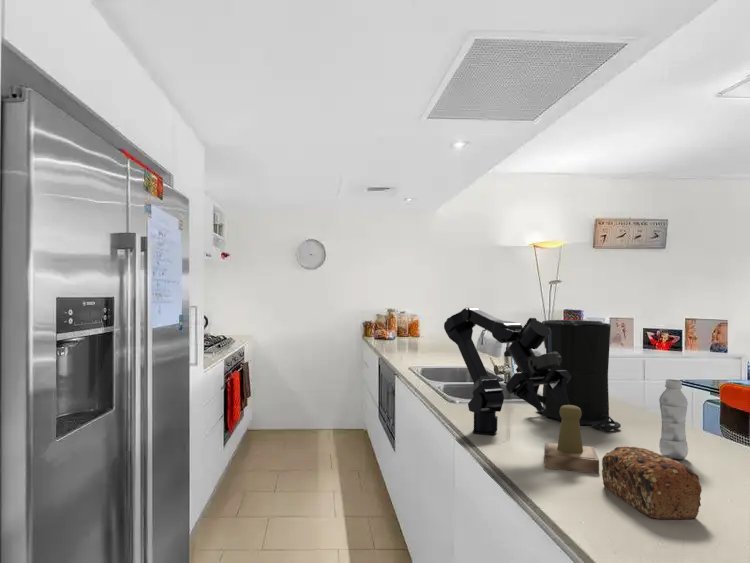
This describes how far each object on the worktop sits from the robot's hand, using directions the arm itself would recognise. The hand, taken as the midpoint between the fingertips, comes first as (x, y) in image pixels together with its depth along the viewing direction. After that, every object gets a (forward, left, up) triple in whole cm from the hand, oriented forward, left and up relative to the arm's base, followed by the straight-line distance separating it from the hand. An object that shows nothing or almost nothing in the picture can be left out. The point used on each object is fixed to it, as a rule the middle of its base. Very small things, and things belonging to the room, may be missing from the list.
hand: (555, 408), depth 139 cm
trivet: (+4, -4, -12) cm, 13 cm away
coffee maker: (+7, +48, -13) cm, 50 cm away
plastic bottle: (+30, +10, -13) cm, 34 cm away
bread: (+17, -25, -13) cm, 33 cm away
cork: (+3, -3, -9) cm, 11 cm away
